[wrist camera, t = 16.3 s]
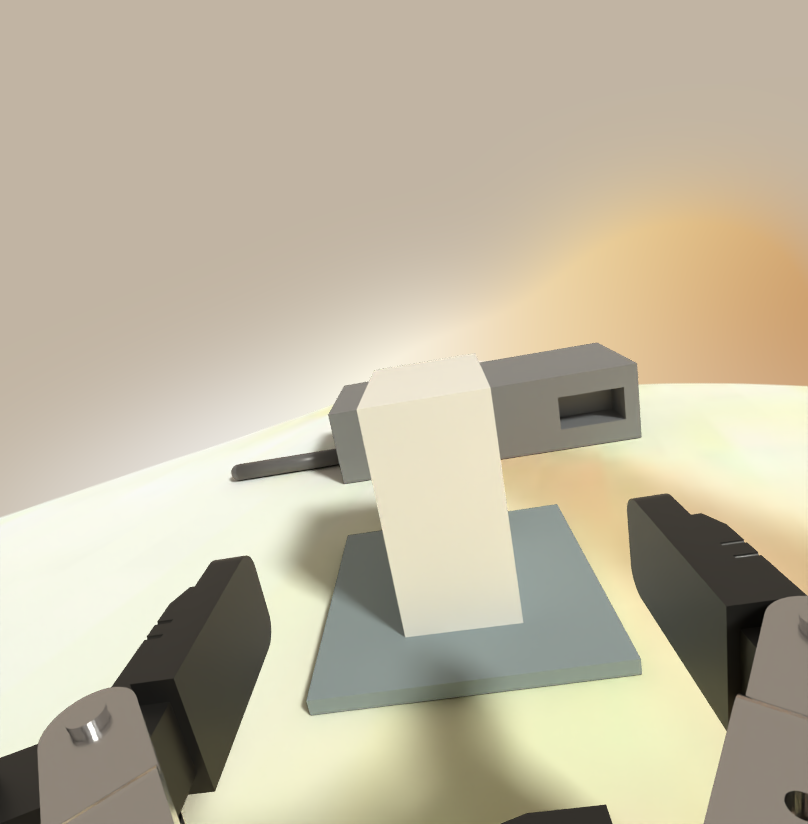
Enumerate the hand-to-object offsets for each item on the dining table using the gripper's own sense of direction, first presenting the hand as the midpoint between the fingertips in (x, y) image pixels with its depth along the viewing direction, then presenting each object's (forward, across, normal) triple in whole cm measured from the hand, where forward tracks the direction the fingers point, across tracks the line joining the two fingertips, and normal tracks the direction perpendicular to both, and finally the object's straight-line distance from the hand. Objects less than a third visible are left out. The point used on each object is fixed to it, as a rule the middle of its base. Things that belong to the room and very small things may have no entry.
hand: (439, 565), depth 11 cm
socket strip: (+28, +2, +8) cm, 29 cm away
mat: (+10, 0, +8) cm, 13 cm away
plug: (+11, 0, +7) cm, 13 cm away
